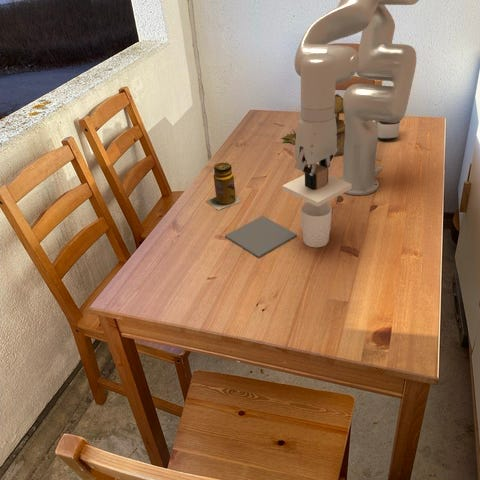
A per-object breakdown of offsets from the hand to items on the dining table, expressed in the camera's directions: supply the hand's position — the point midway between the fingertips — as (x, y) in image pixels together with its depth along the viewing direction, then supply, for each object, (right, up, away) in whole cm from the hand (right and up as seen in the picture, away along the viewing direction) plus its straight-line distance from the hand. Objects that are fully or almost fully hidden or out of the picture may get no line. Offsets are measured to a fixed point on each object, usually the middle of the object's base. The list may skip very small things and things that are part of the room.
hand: (316, 184), depth 116 cm
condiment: (-24, -2, +31) cm, 39 cm away
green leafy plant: (+3, +25, +67) cm, 71 cm away
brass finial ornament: (+16, +20, +57) cm, 62 cm away
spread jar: (+34, +25, +62) cm, 75 cm away
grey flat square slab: (-13, -13, +13) cm, 23 cm away
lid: (0, -1, +1) cm, 1 cm away
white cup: (+1, -14, +10) cm, 17 cm away
